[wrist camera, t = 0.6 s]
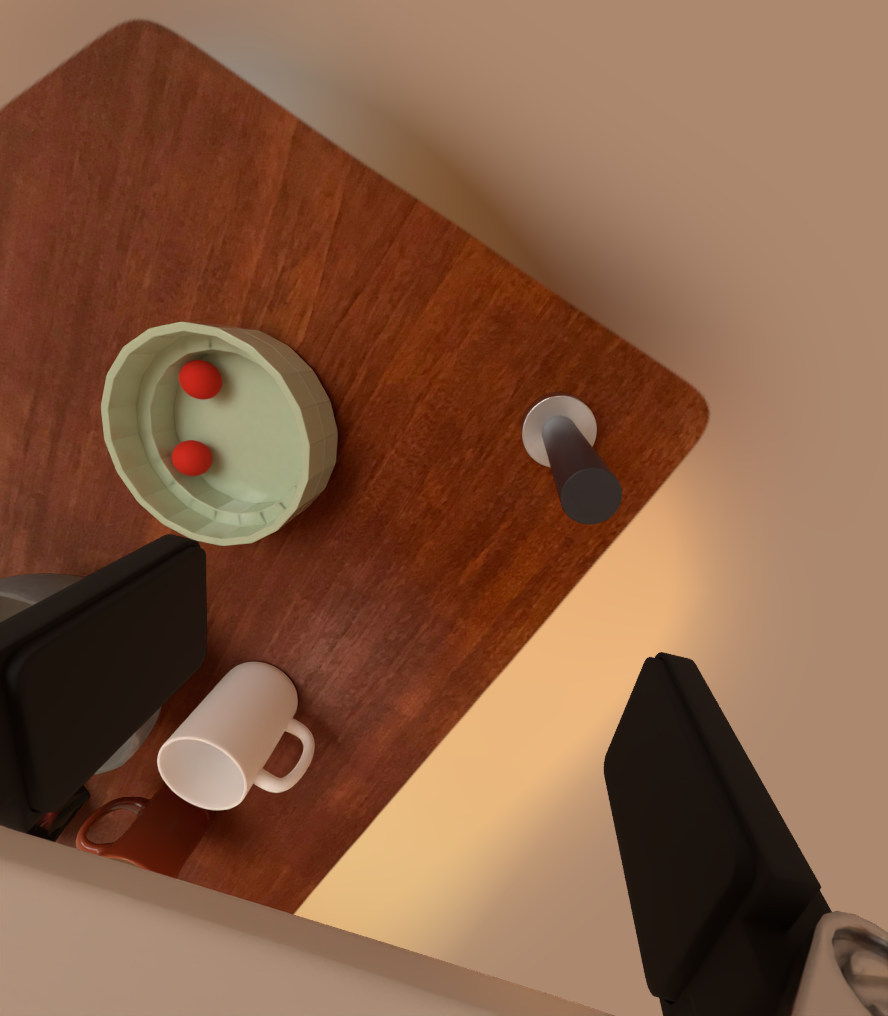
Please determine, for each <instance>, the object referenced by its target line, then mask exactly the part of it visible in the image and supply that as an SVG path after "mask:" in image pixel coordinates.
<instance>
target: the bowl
mask: <svg viewBox="0 0 888 1016" xmlns="http://www.w3.org/2000/svg"><path fill="white" fill-rule="evenodd" d="M83 578H85V577H79V576H74V575H66V574H52V573H40V574H27V575H18V576H12V577H7V578H2V579H0V622H2V621H4V620H6V619H8V618H10V617H11V616H13V615H15V614H17V613H19V612H21V611H23V610H25V609H27V608H28V607H30V606H32V605H34V604H36V603H38V602H40V601H42V600H43V599H45V598H47V597H49V596H51V595H53V594H55V593H57V592H59V591H60V590H62V589H64V588H66V587H68V586H70V585H72V584H74V583H76V582H77V581H79V580H81V579H83ZM161 707H162V706H161ZM161 707H160V708H159V709H158V710H157V711H156V712H155V713H154V714H153V715H152V716H151V717H150V718H149V719H148V720H147V721H146V722H145V723H144V724H143V725H142V726H141V727H140V728H139V729H138V730H137V731H136V732H135V733H134V734H133V735H132V736H131V737H130V738H129V739H128V740H127V741H126V742H125V743H124V744H123V745H122V746H121V747H120V748H119V749H118V750H117V751H116V752H115V753H114V754H113V755H112V757H111V758H110V759H109V760H108V761H107V762H106V763H105V764H104V765H103V766H102V767H101V768H100V769H99V770H98V771H97V772H96V773H95V774H100V773H104V772H107V771H111V770H113V769H115V768H118V767H120V766H122V765H123V764H125V763H126V762H127V761H128V760H129V759H130V758H131V757H132V756H133V755H134V753H135V752H136V751H137V750H138V749H139V748H140V746H141V745H142V744H143V742H144V741H145V740H146V738H147V737H148V735H149V734H150V732H151V730H152V729H153V727H154V725H155V723H156V721H157V719H158V716H159V714H160V710H161ZM95 774H94V775H95Z"/></svg>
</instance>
